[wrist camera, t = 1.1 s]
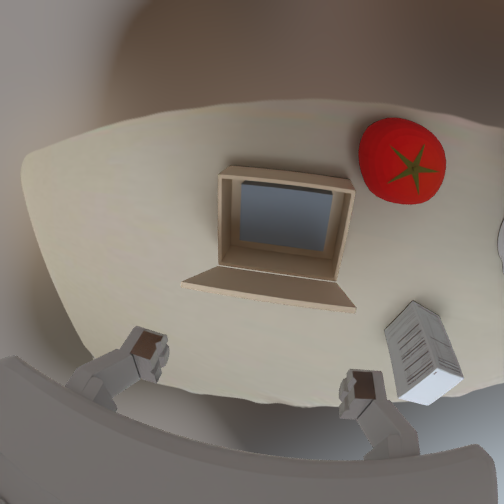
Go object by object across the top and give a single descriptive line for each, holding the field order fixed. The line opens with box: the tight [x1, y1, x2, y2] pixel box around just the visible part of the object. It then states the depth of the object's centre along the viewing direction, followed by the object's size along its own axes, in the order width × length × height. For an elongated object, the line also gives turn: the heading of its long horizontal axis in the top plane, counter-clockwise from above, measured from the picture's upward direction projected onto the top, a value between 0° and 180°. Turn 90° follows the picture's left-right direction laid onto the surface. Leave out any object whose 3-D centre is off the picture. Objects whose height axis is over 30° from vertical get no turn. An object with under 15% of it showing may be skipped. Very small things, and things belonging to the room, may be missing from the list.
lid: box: [181, 266, 356, 314], centre depth 34 cm, size 18×14×1 cm
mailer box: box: [218, 166, 356, 281], centre depth 41 cm, size 18×14×6 cm
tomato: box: [358, 118, 446, 205], centre depth 31 cm, size 11×12×10 cm
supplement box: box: [384, 301, 464, 405], centre depth 41 cm, size 10×9×17 cm
